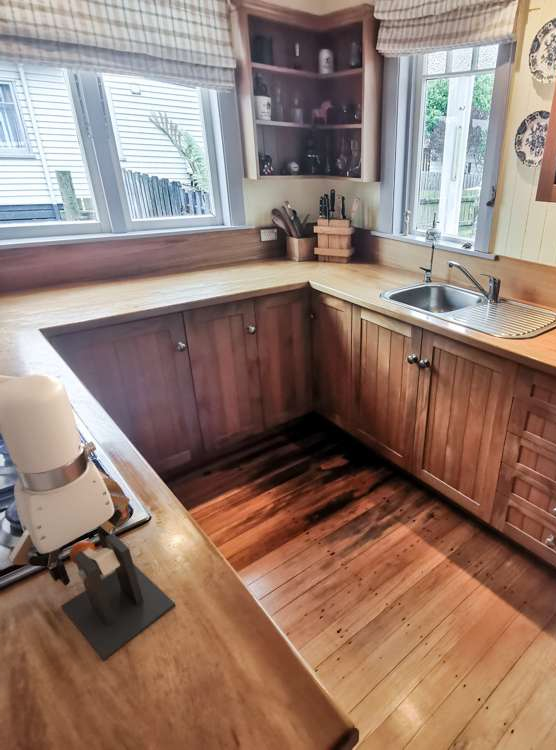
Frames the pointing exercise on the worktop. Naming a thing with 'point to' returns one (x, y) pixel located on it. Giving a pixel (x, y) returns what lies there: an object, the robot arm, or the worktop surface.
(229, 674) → the worktop surface
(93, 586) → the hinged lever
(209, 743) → the worktop surface
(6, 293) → the worktop surface
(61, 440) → the robot arm
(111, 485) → the mottled brown oval slab
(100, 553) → the lever with orange knob
